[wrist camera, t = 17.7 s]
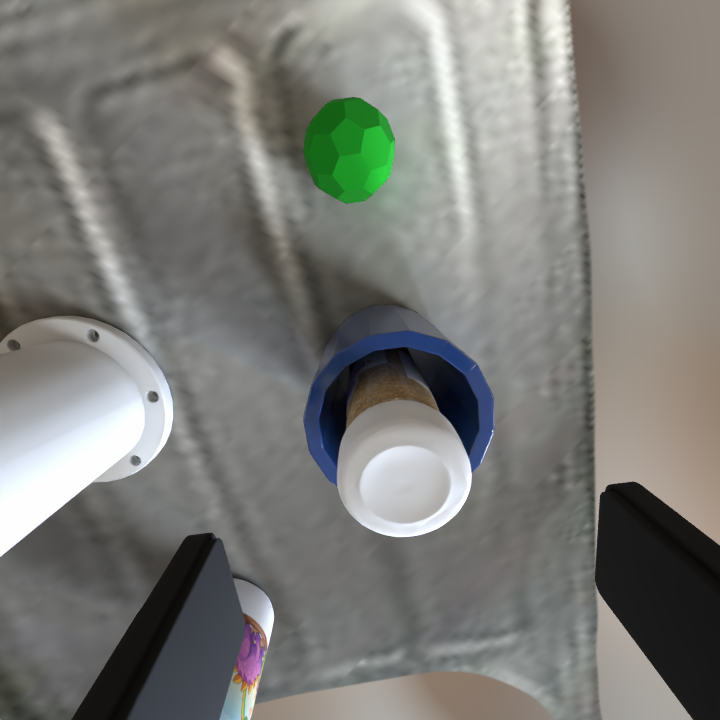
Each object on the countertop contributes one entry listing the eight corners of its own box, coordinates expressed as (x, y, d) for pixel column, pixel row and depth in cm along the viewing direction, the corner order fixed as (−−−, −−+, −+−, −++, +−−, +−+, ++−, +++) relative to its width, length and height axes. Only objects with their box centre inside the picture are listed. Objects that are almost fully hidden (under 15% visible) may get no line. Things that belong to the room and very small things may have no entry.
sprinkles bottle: (347, 336, 24) (330, 425, 11) (414, 333, 24) (478, 418, 11) (351, 399, 25) (340, 546, 12) (414, 396, 25) (473, 540, 12)
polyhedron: (297, 181, 22) (280, 159, 17) (334, 102, 21) (326, 56, 16) (366, 222, 23) (367, 212, 18) (405, 148, 21) (418, 116, 17)
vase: (335, 423, 26) (320, 515, 17) (317, 312, 24) (288, 345, 14) (446, 409, 26) (496, 495, 16) (438, 296, 24) (491, 319, 14)
